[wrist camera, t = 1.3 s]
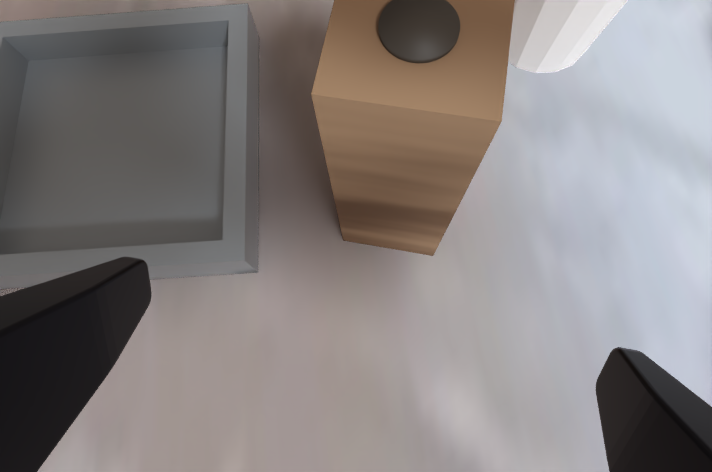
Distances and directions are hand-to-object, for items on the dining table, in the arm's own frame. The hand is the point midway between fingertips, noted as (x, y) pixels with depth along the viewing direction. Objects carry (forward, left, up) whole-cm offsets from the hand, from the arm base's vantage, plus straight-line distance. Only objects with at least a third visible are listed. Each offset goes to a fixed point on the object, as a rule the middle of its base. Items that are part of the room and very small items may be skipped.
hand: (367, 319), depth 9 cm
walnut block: (+7, -2, -13) cm, 15 cm away
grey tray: (+11, +12, -13) cm, 21 cm away
